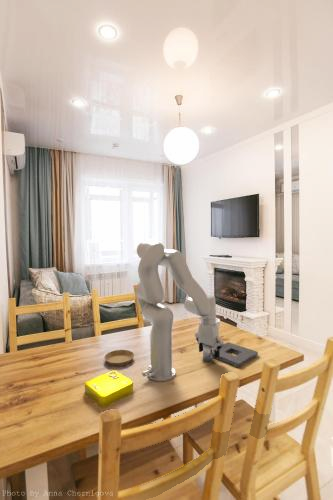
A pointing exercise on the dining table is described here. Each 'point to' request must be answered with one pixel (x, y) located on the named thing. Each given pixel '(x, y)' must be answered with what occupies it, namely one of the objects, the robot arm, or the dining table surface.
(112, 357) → the plant saucer
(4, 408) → the dining table surface
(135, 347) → the dining table surface
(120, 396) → the element tile
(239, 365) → the flange
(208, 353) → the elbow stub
